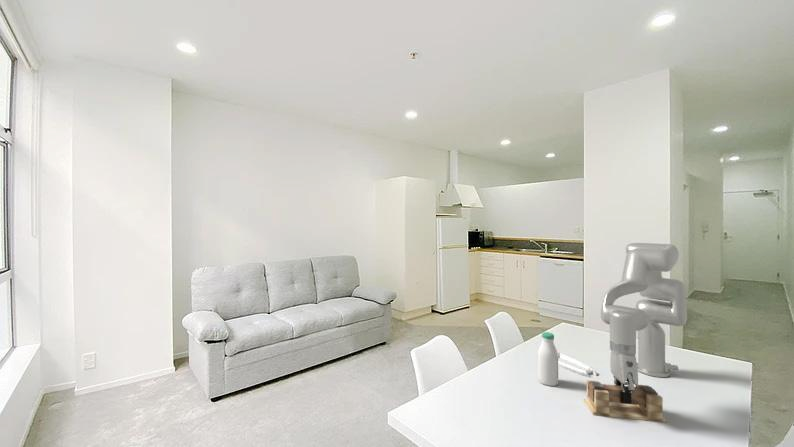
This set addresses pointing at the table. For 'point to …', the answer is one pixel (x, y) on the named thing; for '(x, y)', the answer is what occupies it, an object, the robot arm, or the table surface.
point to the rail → (614, 390)
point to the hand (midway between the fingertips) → (622, 399)
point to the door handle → (579, 371)
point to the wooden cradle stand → (625, 406)
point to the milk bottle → (547, 361)
